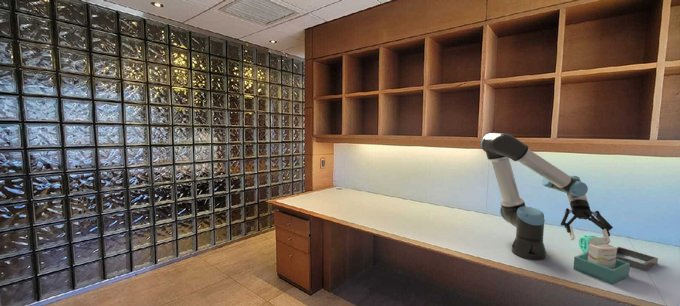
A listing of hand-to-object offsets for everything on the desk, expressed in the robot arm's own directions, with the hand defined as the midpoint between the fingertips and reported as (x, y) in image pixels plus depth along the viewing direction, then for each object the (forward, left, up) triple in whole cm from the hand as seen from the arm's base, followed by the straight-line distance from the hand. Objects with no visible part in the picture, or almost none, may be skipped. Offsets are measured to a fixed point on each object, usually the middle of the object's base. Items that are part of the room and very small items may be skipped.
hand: (590, 240), depth 134 cm
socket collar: (+8, +18, -11) cm, 23 cm away
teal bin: (+7, -8, -11) cm, 15 cm away
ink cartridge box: (+8, -8, -10) cm, 15 cm away
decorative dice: (-5, +13, -11) cm, 18 cm away
